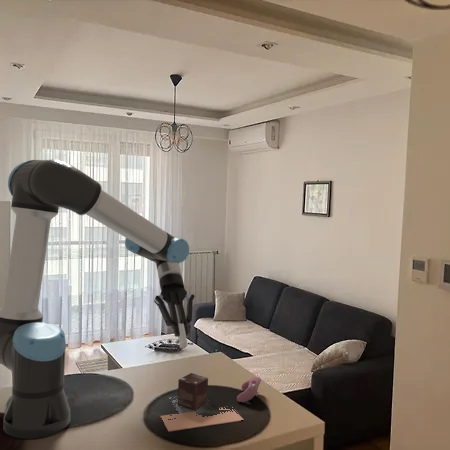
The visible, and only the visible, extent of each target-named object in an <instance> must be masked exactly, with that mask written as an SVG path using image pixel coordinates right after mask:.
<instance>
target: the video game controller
mask: <svg viewBox="0 0 450 450" xmlns="http://www.w3.org/2000/svg"><path fill="white" fill-rule="evenodd" d="M261 380H262V379H261V378H260V377H259V376H256V375H254V376H252V377H250V379H249V380H246V381H244V383H243V384H242V385H241V390H242V391H243V392H240V393H239V394H238V395H237V397H236V401H237V402H238V401H239V402H238V403H240V402H242V403H247V402H248V401H252V399H253V398H254V397H255V396H256V397H257V396H258V395H259V392H258V390H259V386H260V384H261Z"/></svg>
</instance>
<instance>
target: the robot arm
mask: <svg viewBox="0 0 450 450" xmlns="http://www.w3.org/2000/svg"><path fill="white" fill-rule="evenodd" d="M7 179H8V180H7V187H8V192H9V193H10V195H11V196H12V198H11V205H10V209H11V210H12V211H13V212H14V214H15V221H14V222H15V223H14V230H13V236H12V241H11V249H10V254H9V255H10V257H9V261H8V263H9V264H8V268H7V269H8V270H7V276H6V282H5V289H4V294H3V295H4V297H3V303H2V306H1V307H0V365H2V366H4V367H5V368H7V369H8V370H9V371H11V373H12V384H11V385H12V387H11V389H12V390H11V396H10V400H9V402H8V405H7V408H6V411H5V413H4V416H3V420H2V421H3V423H2V425H3V427H2V428H3V432H4V433H5V434H6V435H7V436H10V437H12V438H16V439H23V440H25V439H28V440H29V439H40V438H45V437H48V436H49V437H50V436H52V435H54V434H57V433H59V432H61V431H63V430H64V429H66V428H67V427H68V426H69V425H70V423H71V408H70V404H69V401H68V399H67V396H66V393H65V390H64V389H65V369H66V368H65V365H66V363H65V361H66V349H67V343H66V335H65V332H64V330H63V328H61V327H60V326H58V325H56V324H53V323H47V322H43V319H44V314H43V313H42V312H41V311H40V310H39V303H40V296H41V289H42V283H43V276H44V269H45V263H46V255H47V250H48V243H49V234H50V229H51V224H52V223H51V222H52V220H53V219H54V218H55V217H56V216H57V215H59V209H60V208H63V209H65V210H69V211H71V212H73V213H75V214H76V215H79V216H84V215H86V216H87V217H90V218H92V219H93V220H95V221H97V222H98V223H100V224H102V225H103V226H105V227H107V228H109V229H110V230H112V231H114V232H116V233H118V235H121V236H122V237H124V238H125V240H124V246H125V249H126V250H127V251H129V252H131V253H132V254H135V255H137V256H139V257H142V258H145V259H147V260H149V261H151V262H153V263H155V266H156V271H157V277H158V280H159V289H160V294H159V295H155V297H154V300H153V303H154V304H155V305H156V306H157V307H158V309H159V312H160V313H161V317H162V319H163V320H164V323H165V326H167V327H171V328H172V330H173V333H174V337H176V338H177V339H178V343H179V349H183V348H186V347H187V345H188V337H187V336H188V335H189V329H188V326H189V325H191V322H192V320H193V302H194V299H195V294H189V293H188V291H187V290H186V288H185V284H184V279H183V275H182V274H183V273H182V270H181V267H180V264H181V263H183V262H184V261H186V259H187V258H188V256H189V255H190V246H189V243H188V241H187V240H186V239H185V238H182V237H179V236H177V237H176V236H173V235H172V234H170V233H169V232H167V231H165V230H164V229H162V228H160V227H159V226H158V225H156V224H154V223H153V222H151V221H150V220H149V219H147V218H145V217H144V216H143V215H141V214H139V213H138V212H137V211H135V210H134V209H131V208H130V207H128V206H127V205H126V204H124V203H123V202H121V201H120V200H118V199H116V198H115V197H114V196H112V195H111V194H109V193H108V192H106V191H104V190H103V188H102V185H101V183H99V182H98V181H97V180H95V179H94V178H93V177H91V176H89V175H88V174H86V173H85V172H83V171H82V170H80V169H78V168H76V167H75V165H74V166H73V165H72V164H70V163H67V162H66V161H62V160H59V159H31V160H27V161H25V162H21V163H19V164H18V165H16V166H15V167H14V168H13V169H12V170H11V171H10V173H9V175H8V178H7ZM185 298H186V299H185ZM184 300H186V302H187V304H186V312H185V308H184ZM165 303H166V304H167V306H166V304H165ZM167 307H168V308H167ZM168 309H169V310H168ZM176 309H177V310H176ZM177 312H178V313H177ZM178 317H179V319H178Z"/></svg>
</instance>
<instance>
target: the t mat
mask: <svg viewBox="0 0 450 450" xmlns="http://www.w3.org/2000/svg"><path fill="white" fill-rule="evenodd" d="M172 397H174V398H175V397H176V396H171V397H168V400H169V399H171V398H172ZM176 400H177V399H176ZM176 400H173V401H172V403H175V402H178V400H177V401H176ZM172 403H171V404H172ZM173 405H174V404H172V406H173ZM177 405H178V404H176V407H177V408H178V409H177V408H176V409H175V411H176V412H177V411H178V412H177V413H173V414H164V415H160V416H159V417H160V419H161V418H162V419H161V420H163V421H162V423H163V422H164V423H163V424H164V427H165V428H166V429H167V431H168V433H170V432H174V431H175V432H176V431H181V430H188V429H195V428H202V427H209V426H215V425H222V424H229V423H235V422H241V420H243V421H244V418H243V417H242V416H241V415H240V414H239V413H238V412H237V411H236V410H235V409H234V410H235V411H236V412H237V413H238V414H237V413H236V412H235V411H234V410H233V409H232V411H233V412H232V411H231V410H230V409H226V408H225V407H226V406H224V408H225V409H223V407H218V408H219V410H230V411H231V412H230V411H228V412H227V411H226V412H225V413H224V412H222V413H223V414H222V413H221V412H220V414H217V415H213V416H208V417H207V416H205V417H202V415H198V414H196V412H193V410H191V409H188V408H186V407H180V406H179V405H178V406H177ZM173 407H174V408H175V406H173ZM220 408H221V409H220ZM232 408H234V407H233V406H232ZM178 413H179V414H178ZM170 415H172V416H170ZM196 415H197V416H196ZM174 418H176V419H174ZM168 419H171V420H168ZM172 419H173V420H172Z"/></svg>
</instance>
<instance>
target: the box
mask: <svg viewBox="0 0 450 450" xmlns="http://www.w3.org/2000/svg"><path fill="white" fill-rule="evenodd" d="M177 381H178V385H177V386H178V387H177V390H178V391H177V397H178V405H179V406H182V407H186V408H188V409H191V410H194V411H196V410H197V409H199V408H200V407H202V406H204V405H205V404H207V400H208V395H209V393H208V391H209V377H205V376H202V375H199V374H196V373H192V372H190V373H189V374H187V375H185V376H183V377H181V378H179V379H178V380H177Z"/></svg>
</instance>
